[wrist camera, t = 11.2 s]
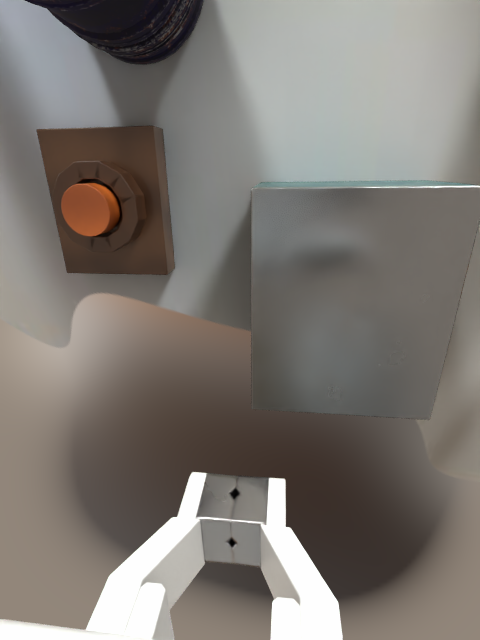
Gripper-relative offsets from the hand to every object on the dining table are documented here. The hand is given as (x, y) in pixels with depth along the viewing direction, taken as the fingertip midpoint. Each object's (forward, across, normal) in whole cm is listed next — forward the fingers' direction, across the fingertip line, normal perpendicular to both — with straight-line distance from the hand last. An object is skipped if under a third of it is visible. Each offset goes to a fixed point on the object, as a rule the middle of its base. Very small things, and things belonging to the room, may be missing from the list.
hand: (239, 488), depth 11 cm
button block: (+22, +13, -7) cm, 26 cm away
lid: (+14, -6, -1) cm, 15 cm away
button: (+18, +13, -7) cm, 23 cm away
